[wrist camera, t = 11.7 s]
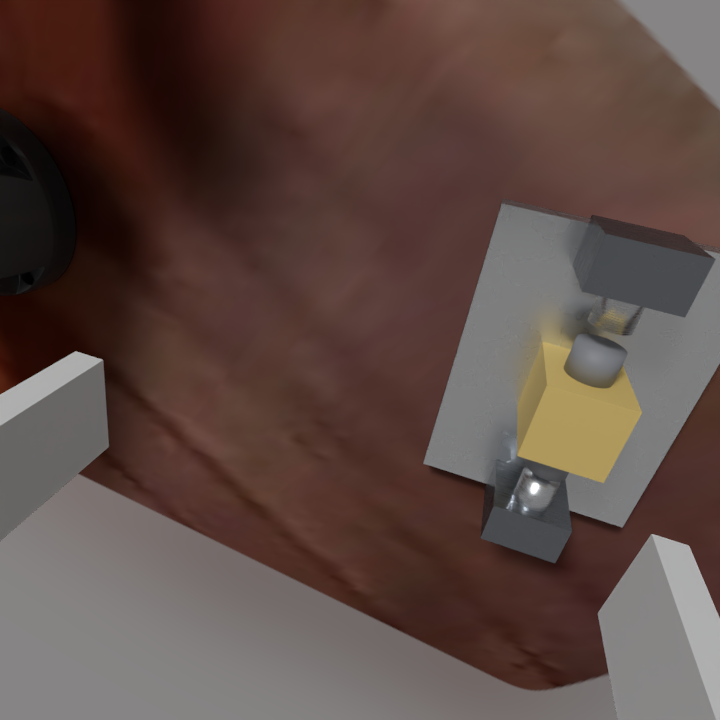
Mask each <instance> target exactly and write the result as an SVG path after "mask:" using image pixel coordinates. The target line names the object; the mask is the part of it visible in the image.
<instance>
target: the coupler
mask: <svg viewBox="0 0 720 720" xmlns="http://www.w3.org/2000/svg"><path fill="white" fill-rule="evenodd" d="M627 355H628V353H627V351H626V349H625V348H623V347H622V346H621V345H619V344H618V343H616V342H614V341H612V340H610V339H607V338H604V337H601V336H598V335H593V334H579V335H577V337H576V339H575V341H574V344H573V346H572V348H571V349H567V348H564V347H560V346H556V345H553V344H549V343H546V342H542V345H541V347H540V350H539V352H538V355H537V357H536V360H535V362H534V365H533V367H532V370H531V372H530V375H529V377H528V380H527V382H526V385H525V387H524V390H523V392H522V395H521V397H520V400H519V402H518V405H517V456H519V457H522V458H524V462H525V465H526V466H527V468H528V469H529V470H530V471H531V472H532V473H534V474H535V475H537V476H538V477H540V478H542V479H545V480H548V481H553V482H560V481H563V480H565V479H566V478H567V476H568V474H569V472H570V473H573V474H576V475H579V476H582V477H585V478H589V479H592V480H595V481H598V482H601V483H604V482H605V480H606V478H607V476H608V474H609V473H610V471H611V469H612V467H613V465H614V463H615V462H616V460H617V458H618V456H619V454H620V452H621V451H622V449H623V447H624V445H625V443H626V441H627V440H628V438H629V436H630V434H631V432H632V431H633V429H634V427H635V425H636V423H637V421H638V420H639V418H640V416H641V414H642V411H641V408H640V406H639V403H638V401H637V398H636V396H635V394H634V391H633V389H632V386H631V384H630V381H629V379H628V376H627V374H626V372H625V369H624V367H623V363H624V361H625V359H626V357H627Z"/></svg>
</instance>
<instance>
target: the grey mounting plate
mask: <svg viewBox="0 0 720 720" xmlns="http://www.w3.org/2000/svg"><path fill="white" fill-rule="evenodd" d="M579 334H593V335H598V336H601V337H604V338H607V339H610V340H612V341H614V342H616V343H618V344H619V345H621V346H622V347H623V348H625V349H626V351H627V353H628V355H627V357H626V359H625V361H624V363H623V367H624V369H625V372H626V374H627V376H628V379H629V381H630V384H631V386H632V389H633V391H634V394H635V396H636V398H637V401H638V403H639V406H640V408H641V411H642V414H641V416H640V418H639V420H638V421H637V423H636V425H635V427H634V429H633V431H632V432H631V434H630V436H629V438H628V440H627V441H626V443H625V445H624V447H623V449H622V451H621V452H620V454H619V456H618V458H617V460H616V462H615V463H614V465H613V467H612V469H611V471H610V473H609V474H608V476H607V478H606V480H605V482H604V483H601V482H598V481H595V480H592V479H589V478H585V477H582V476H579V475H576V474H573V473H570V472H569V474H568V476H567V478H566V479H565V480H563V481H560V482H553V481H548V480H545V479H542V478H540V477H538V476H537V475H535V474H534V473H532V472H531V471H530V470H529V469H528V468H527V466H526V465H525V462H524V458H522V457H519V456H517V405H518V402H519V400H520V397H521V395H522V392H523V390H524V387H525V385H526V382H527V380H528V377H529V375H530V372H531V370H532V367H533V365H534V362H535V360H536V357H537V355H538V352H539V350H540V347H541V345H542V342H546V343H549V344H553V345H556V346H560V347H564V348H567V349H571V348H572V346H573V344H574V341H575V339H576V337H577V335H579ZM719 364H720V248H718V247H713V246H709V245H704V244H700V243H696V242H692V241H691V240H689V239H688V238H687V237H685V236H684V235H679V234H675V233H670V232H666V231H662V230H657V229H653V228H648V227H644V226H640V225H635V224H631V223H626V222H622V221H618V220H613V219H609V218H604V217H600V216H595V215H592V216H591V218H586V217H582V216H577V215H573V214H569V213H564V212H560V211H555V210H551V209H547V208H542V207H538V206H534V205H529V204H525V203H520V202H516V201H512V200H507V199H503V200H502V203H501V206H500V210H499V213H498V216H497V220H496V223H495V226H494V230H493V233H492V236H491V240H490V243H489V246H488V250H487V253H486V256H485V260H484V263H483V266H482V269H481V273H480V276H479V279H478V283H477V286H476V289H475V293H474V296H473V299H472V303H471V306H470V309H469V313H468V316H467V319H466V322H465V326H464V329H463V332H462V336H461V339H460V342H459V346H458V349H457V352H456V356H455V359H454V362H453V366H452V369H451V372H450V376H449V379H448V382H447V385H446V389H445V392H444V395H443V399H442V402H441V405H440V409H439V412H438V415H437V419H436V422H435V425H434V429H433V432H432V435H431V438H430V442H429V445H428V448H427V452H426V456H425V459H424V463H423V464H426V465H430V466H433V467H436V468H439V469H442V470H445V471H448V472H451V473H454V474H458V475H461V476H464V477H467V478H470V479H473V480H476V481H479V482H482V483H486V484H487V485H486V488H485V495H484V506H483V517H482V528H481V539H484V540H487V541H490V542H493V543H496V544H499V545H502V546H505V547H508V548H511V549H514V550H517V551H520V552H523V553H526V554H529V555H532V556H534V557H537V558H540V559H543V560H546V561H549V562H552V563H556V561H557V559H558V557H559V555H560V553H561V551H562V550H563V548H564V546H565V544H566V542H567V540H568V538H569V536H570V534H571V532H572V528H571V520H570V512H569V510H570V511H573V512H576V513H579V514H582V515H585V516H588V517H591V518H594V519H598V520H601V521H604V522H607V523H610V524H613V525H616V526H619V527H623V526H624V524H625V522H626V521H627V519H628V517H629V516H630V514H631V512H632V511H633V509H634V507H635V506H636V504H637V502H638V500H639V499H640V497H641V495H642V494H643V492H644V490H645V489H646V487H647V485H648V484H649V482H650V480H651V479H652V477H653V475H654V473H655V472H656V470H657V468H658V467H659V465H660V463H661V462H662V460H663V458H664V457H665V455H666V453H667V452H668V450H669V448H670V446H671V445H672V443H673V441H674V440H675V438H676V436H677V435H678V433H679V431H680V430H681V428H682V426H683V425H684V423H685V421H686V419H687V418H688V416H689V414H690V413H691V411H692V409H693V408H694V406H695V404H696V403H697V401H698V399H699V398H700V396H701V394H702V392H703V391H704V389H705V387H706V386H707V384H708V382H709V381H710V379H711V377H712V376H713V374H714V372H715V371H716V369H717V367H718V365H719Z"/></svg>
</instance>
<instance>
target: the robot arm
mask: <svg viewBox="0 0 720 720" xmlns="http://www.w3.org/2000/svg"><path fill="white" fill-rule="evenodd" d="M75 238H76V227H75V217H74V211H73V206H72V202H71V199H70V195H69V192H68V189H67V187H66V184H65V182H64V180H63V177H62V175H61V173H60V171H59V169H58V167H57V166H56V164H55V162H54V161H53V159H52V157H51V156H50V154H49V153H48V151H47V150H46V149H45V147H44V146H43V145H42V143H41V142H40V141H39V140H38V139H37V137H36V136H35V135H34V134H33V133H32V132H31V131H30V130H29V129H28V128H27V127H26V126H25V125H24V124H23V123H21V122H20V121H19V120H18V119H16V118H15V117H14V116H12V115H11V114H9V113H8V112H6V111H5V110H3V109H1V108H0V296H12V295H19V294H24V293H28V292H30V291H33V290H36V289H39V288H41V287H44V286H47V285H49V284H51V283H53V282H54V281H56V280H57V279H58V278H59V277H60V276H61V275H62V274H63V273H64V272H65V270H66V269H67V267H68V265H69V263H70V261H71V258H72V255H73V252H74V247H75ZM108 447H109V440H108V425H107V409H106V394H105V379H104V364H103V360H102V359H99V358H96V357H93V356H89V355H86V354H83V353H80V352H77V351H75V352H73V353H72V354H70V355H68V356H66V357H65V358H63V359H61V360H60V361H58V362H56V363H54V364H53V365H51V366H49V367H47V368H46V369H44V370H42V371H41V372H39V373H37V374H35V375H34V376H32V377H30V378H28V379H27V380H25V381H23V382H21V383H20V384H18V385H16V386H15V387H13V388H11V389H9V390H8V391H6V392H4V393H2V394H1V395H0V541H1V540H2V539H3V538H4V537H6V536H7V535H8V534H9V533H10V532H11V531H12V530H14V529H15V528H16V527H17V526H18V525H19V524H21V523H22V522H23V521H24V520H25V519H26V518H27V517H29V516H30V515H31V514H32V513H33V512H34V511H36V510H37V509H38V508H39V507H40V506H41V505H43V504H44V503H45V502H46V501H47V500H48V499H49V498H51V497H52V496H53V495H54V494H55V493H56V492H57V491H58V490H60V489H61V488H62V487H63V486H64V485H65V484H67V483H68V482H69V481H70V480H71V479H72V478H73V477H75V476H76V475H77V474H78V473H79V472H80V471H82V470H83V469H84V468H85V467H86V466H87V465H89V464H90V463H91V462H92V461H93V460H94V459H95V458H97V457H98V456H99V455H100V454H101V453H102V452H103V451H105V450H106V449H107V448H108ZM598 618H599V623H600V628H601V634H602V639H603V644H604V650H605V655H606V660H607V666H608V671H609V677H610V682H611V687H612V692H613V698H614V703H615V709H616V714H617V720H720V618H719V616H718V613H717V611H716V609H715V606H714V604H713V602H712V599H711V597H710V594H709V592H708V590H707V587H706V585H705V583H704V580H703V578H702V575H701V573H700V571H699V568H698V566H697V564H696V561H695V559H694V557H693V554H692V552H691V549H690V547H689V546H688V545H685V544H682V543H679V542H676V541H673V540H670V539H666V538H663V537H660V536H657V535H654V534H651V536H650V537H649V539H648V540H647V541H646V543H645V544H644V546H643V547H642V549H641V550H640V552H639V553H638V555H637V556H636V558H635V559H634V561H633V562H632V564H631V565H630V567H629V568H628V569H627V571H626V572H625V574H624V575H623V577H622V578H621V580H620V581H619V583H618V584H617V586H616V587H615V589H614V590H613V592H612V593H611V595H610V596H609V598H608V599H607V600H606V602H605V603H604V605H603V606H602V608H601V609H600V611H599V612H598Z"/></svg>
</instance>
